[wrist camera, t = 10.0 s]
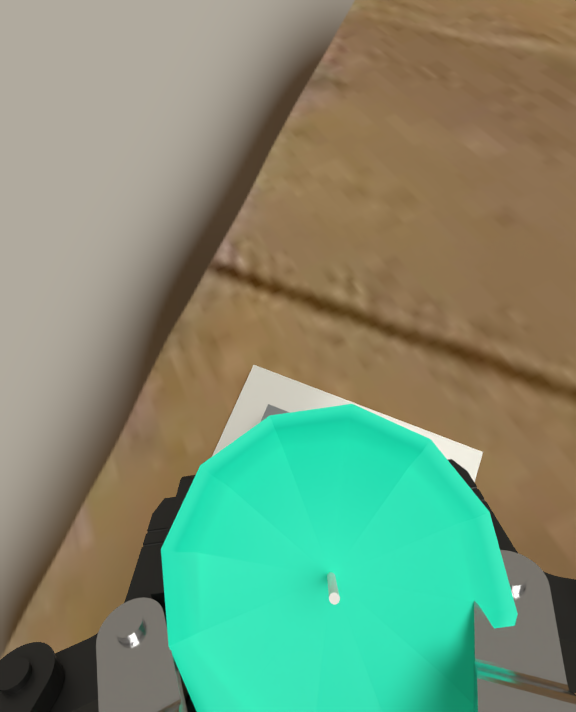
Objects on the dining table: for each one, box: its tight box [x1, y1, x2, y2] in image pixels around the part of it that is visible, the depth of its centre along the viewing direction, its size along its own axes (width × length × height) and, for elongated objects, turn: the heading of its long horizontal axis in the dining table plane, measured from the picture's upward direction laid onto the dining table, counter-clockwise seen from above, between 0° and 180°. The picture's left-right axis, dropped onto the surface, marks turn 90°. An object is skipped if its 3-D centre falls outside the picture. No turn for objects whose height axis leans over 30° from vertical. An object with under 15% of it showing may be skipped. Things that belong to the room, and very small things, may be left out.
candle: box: [161, 404, 518, 712], centre depth 12 cm, size 6×6×12 cm
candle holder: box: [212, 365, 483, 482], centre depth 26 cm, size 16×16×5 cm
